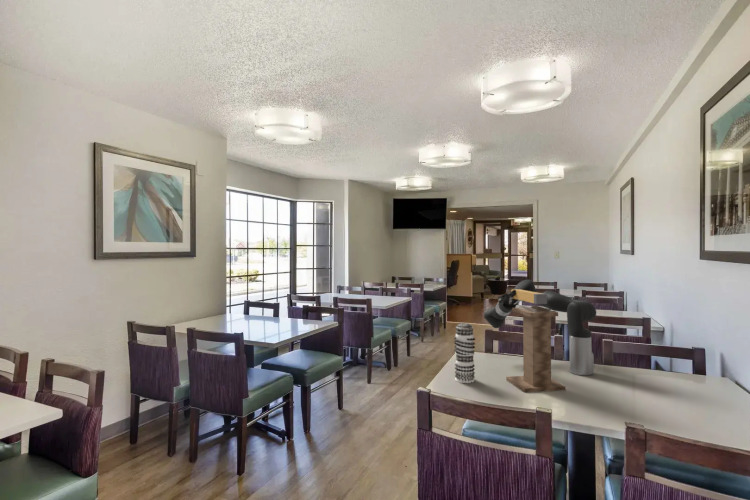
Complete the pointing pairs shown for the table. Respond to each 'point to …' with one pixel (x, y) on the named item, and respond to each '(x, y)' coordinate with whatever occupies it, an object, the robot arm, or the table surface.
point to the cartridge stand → (536, 351)
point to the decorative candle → (464, 353)
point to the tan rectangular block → (530, 296)
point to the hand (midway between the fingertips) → (519, 291)
